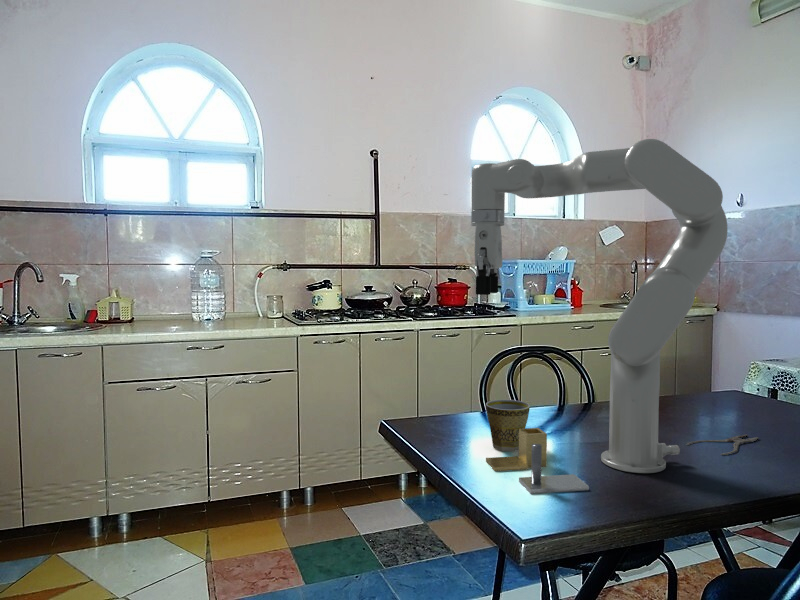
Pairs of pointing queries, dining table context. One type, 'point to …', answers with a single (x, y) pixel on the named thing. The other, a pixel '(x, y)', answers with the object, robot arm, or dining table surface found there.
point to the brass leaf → (522, 452)
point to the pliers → (732, 439)
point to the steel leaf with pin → (549, 478)
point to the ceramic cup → (506, 422)
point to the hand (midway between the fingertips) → (487, 293)
